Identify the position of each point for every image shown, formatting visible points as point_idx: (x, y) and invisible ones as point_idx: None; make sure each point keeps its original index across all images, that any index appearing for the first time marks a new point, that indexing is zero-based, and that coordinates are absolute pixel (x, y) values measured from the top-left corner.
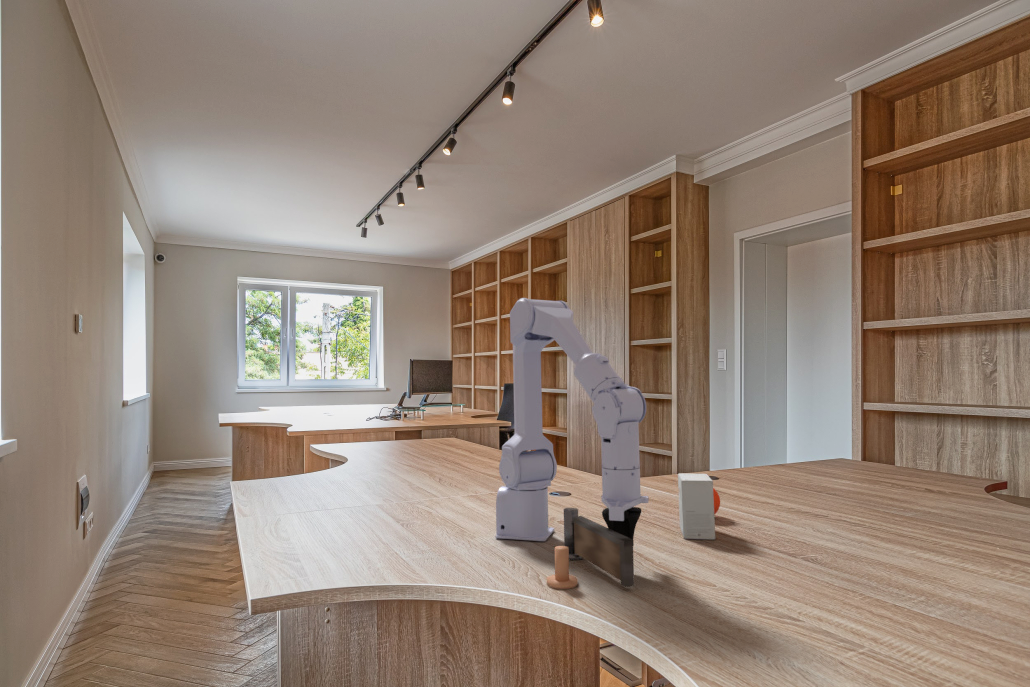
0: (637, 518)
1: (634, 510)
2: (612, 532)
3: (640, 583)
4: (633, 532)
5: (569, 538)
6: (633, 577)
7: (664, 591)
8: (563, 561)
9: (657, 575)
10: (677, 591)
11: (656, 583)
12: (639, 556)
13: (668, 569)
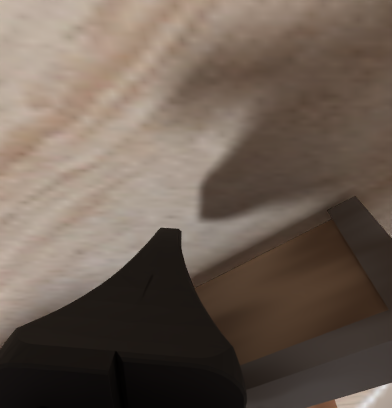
0: (236, 362)
1: (99, 403)
2: (292, 389)
3: (281, 171)
4: (196, 294)
5: None
6: (368, 211)
7: (360, 88)
8: (335, 405)
9: (189, 113)
10: (362, 33)
11: (276, 117)
12: (4, 177)
13: (108, 68)
